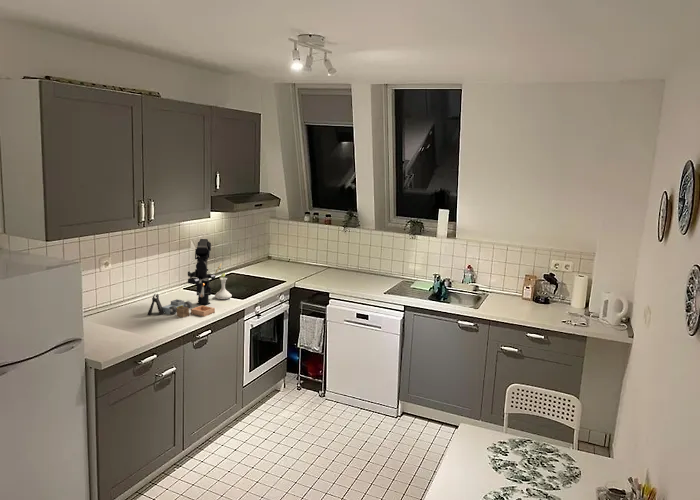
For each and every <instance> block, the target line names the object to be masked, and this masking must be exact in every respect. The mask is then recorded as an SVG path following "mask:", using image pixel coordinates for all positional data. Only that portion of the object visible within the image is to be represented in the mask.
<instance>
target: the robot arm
mask: <svg viewBox="0 0 700 500" xmlns="http://www.w3.org/2000/svg"><path fill="white" fill-rule="evenodd" d="M211 252H212V243H211V242H210V241H209V239H208V238H200V239H199V241H198V242H197V246H196V248H195V254H194V256H195V257H194V260H196V264H195V269H194V271H192V270H190V271H187V277H189V278H188V279H187V284H191V285H195V286H196V296H198V298H197V302H196V305H199V306H201V305H203V306H207V305H209V304H211V302H210V301H209V300H210V299H209V296H211V295H212V287H211V285H210V283H211V280H213V281H214V280H216V275H215V274H214V273H208V272H209V268H208V260H209V259H210V255H211ZM210 279H211V280H210ZM203 283H205V286H204V297H199V293H201V291H202V286H203Z"/></svg>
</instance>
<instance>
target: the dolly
mask: <svg viewBox="0 0 700 500" xmlns="http://www.w3.org/2000/svg"><path fill="white" fill-rule="evenodd" d="M181 305H183V307H187V308H189V309H192V307H193V304H192V302H191V301H190V300H188V301H185V300H181V299H178V298H177V299H174V300H170V304H168V305H165V306H162V309H163V312H164V314H167V315H174V314H177V307H178V306H181Z"/></svg>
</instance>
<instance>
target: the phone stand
mask: <svg viewBox="0 0 700 500" xmlns="http://www.w3.org/2000/svg"><path fill="white" fill-rule="evenodd" d="M159 297H160V296H159V294H158V293H157V294H156V293H154V294H153V295H152V298H151V299H152V300H151V304H150V307H149V309H148V312H147V314H146V315H147V316H151V315H152V314H153V310H154V309H153V308H154V305H155V303H156V307H157V311H158V315H159V316H163V315H164V314H165V313H164V312H163V309H162V307H163V306H162V304H161V301H160V298H159Z"/></svg>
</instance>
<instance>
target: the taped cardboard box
mask: <svg viewBox="0 0 700 500" xmlns="http://www.w3.org/2000/svg"><path fill="white" fill-rule="evenodd" d="M189 316H190V308H187V307H183V305H181V306H178V307H177V312H176V317H178V318H187V317H189Z"/></svg>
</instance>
